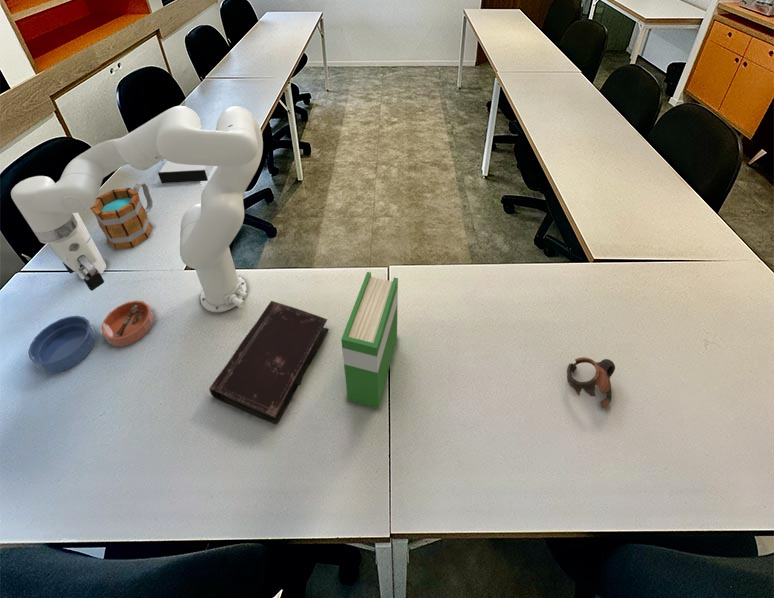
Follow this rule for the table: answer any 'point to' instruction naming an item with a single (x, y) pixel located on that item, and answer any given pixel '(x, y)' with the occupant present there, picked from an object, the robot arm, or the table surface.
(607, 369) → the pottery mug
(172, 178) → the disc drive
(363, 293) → the hardback book
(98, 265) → the cylindrical container
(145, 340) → the table surface
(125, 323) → the wooden post with brackets
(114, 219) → the mug
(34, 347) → the bowl
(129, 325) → the shallow terracotta dish
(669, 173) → the table surface
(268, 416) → the diary
